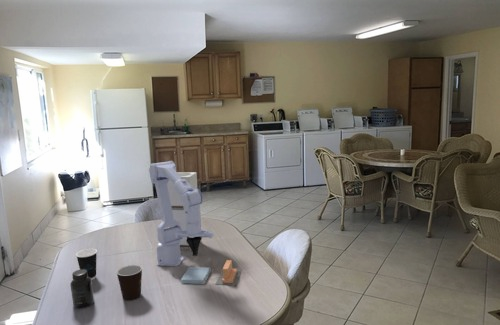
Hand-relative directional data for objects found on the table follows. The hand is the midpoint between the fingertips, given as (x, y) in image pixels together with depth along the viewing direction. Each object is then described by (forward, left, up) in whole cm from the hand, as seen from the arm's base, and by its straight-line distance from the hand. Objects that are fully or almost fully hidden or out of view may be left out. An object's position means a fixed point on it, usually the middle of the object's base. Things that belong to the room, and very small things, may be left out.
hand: (195, 254), depth 149 cm
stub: (+13, +1, -10) cm, 16 cm away
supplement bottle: (-35, -22, -10) cm, 42 cm away
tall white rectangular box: (-15, +34, -10) cm, 39 cm away
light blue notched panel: (-1, +1, -10) cm, 10 cm away
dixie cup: (-44, -3, -10) cm, 45 cm away
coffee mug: (-20, -14, -10) cm, 26 cm away
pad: (+12, +1, -10) cm, 16 cm away
